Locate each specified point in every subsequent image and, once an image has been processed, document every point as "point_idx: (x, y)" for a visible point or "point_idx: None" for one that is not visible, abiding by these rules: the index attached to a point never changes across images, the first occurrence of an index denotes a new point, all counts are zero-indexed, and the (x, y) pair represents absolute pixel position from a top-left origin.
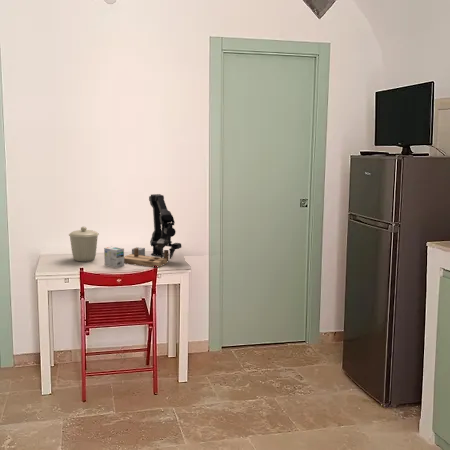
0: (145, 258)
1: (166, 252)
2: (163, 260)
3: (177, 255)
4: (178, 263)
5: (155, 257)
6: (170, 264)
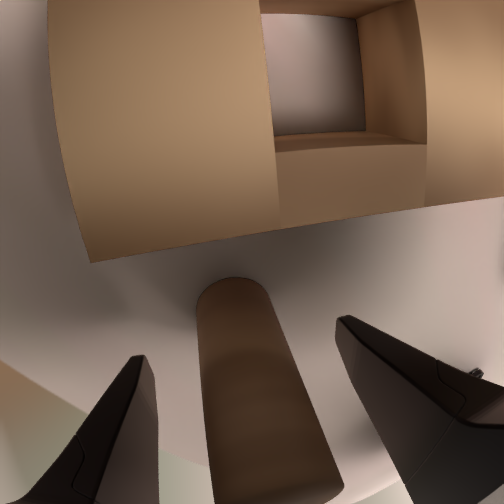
0: (501, 14)
1: (230, 451)
2: (51, 34)
3: None
4: (3, 316)
5: (423, 168)
6: (22, 188)
